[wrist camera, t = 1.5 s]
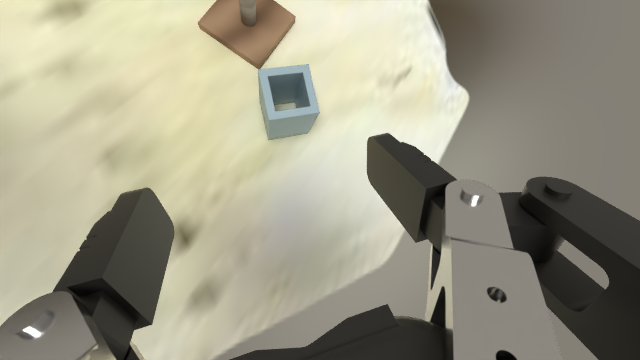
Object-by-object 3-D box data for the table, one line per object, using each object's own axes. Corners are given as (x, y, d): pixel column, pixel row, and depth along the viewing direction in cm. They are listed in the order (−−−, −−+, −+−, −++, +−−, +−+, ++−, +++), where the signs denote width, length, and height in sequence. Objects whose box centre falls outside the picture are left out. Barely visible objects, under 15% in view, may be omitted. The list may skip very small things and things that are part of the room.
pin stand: (199, 28, 37) (181, -21, 29) (239, -19, 39) (232, -77, 31) (259, 69, 38) (257, 33, 30) (294, 22, 40) (301, -24, 32)
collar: (268, 139, 37) (269, 120, 29) (259, 100, 38) (257, 69, 29) (307, 133, 39) (319, 112, 30) (298, 95, 39) (308, 64, 30)
